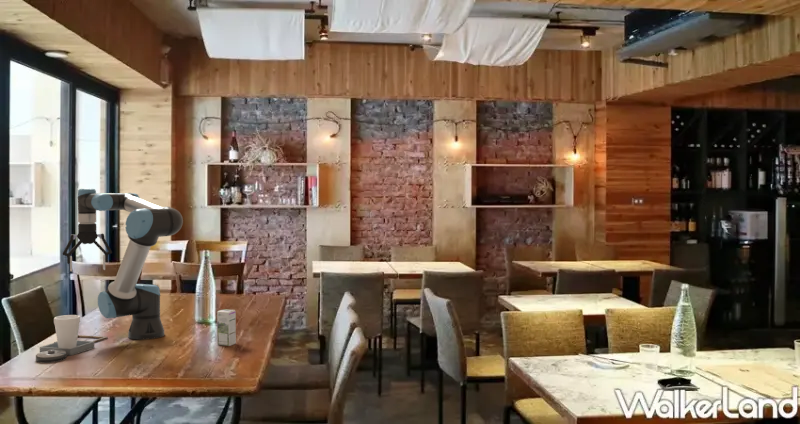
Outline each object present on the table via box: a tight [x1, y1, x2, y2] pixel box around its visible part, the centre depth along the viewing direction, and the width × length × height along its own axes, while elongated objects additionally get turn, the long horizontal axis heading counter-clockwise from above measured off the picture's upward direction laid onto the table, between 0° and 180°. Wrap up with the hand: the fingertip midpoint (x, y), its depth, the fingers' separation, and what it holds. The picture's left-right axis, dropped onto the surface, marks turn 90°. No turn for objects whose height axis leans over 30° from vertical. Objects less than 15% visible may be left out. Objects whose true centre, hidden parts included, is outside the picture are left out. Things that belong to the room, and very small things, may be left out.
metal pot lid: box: [35, 349, 67, 364], centre depth 270 cm, size 11×11×4 cm
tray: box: [39, 339, 95, 357], centre depth 284 cm, size 14×14×3 cm
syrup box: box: [216, 308, 237, 347], centre depth 296 cm, size 6×6×14 cm
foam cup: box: [53, 314, 81, 349], centre depth 284 cm, size 10×9×13 cm
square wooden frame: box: [53, 334, 109, 344], centre depth 301 cm, size 15×15×1 cm
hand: (87, 270), depth 315 cm, fingers open, 13 cm apart
